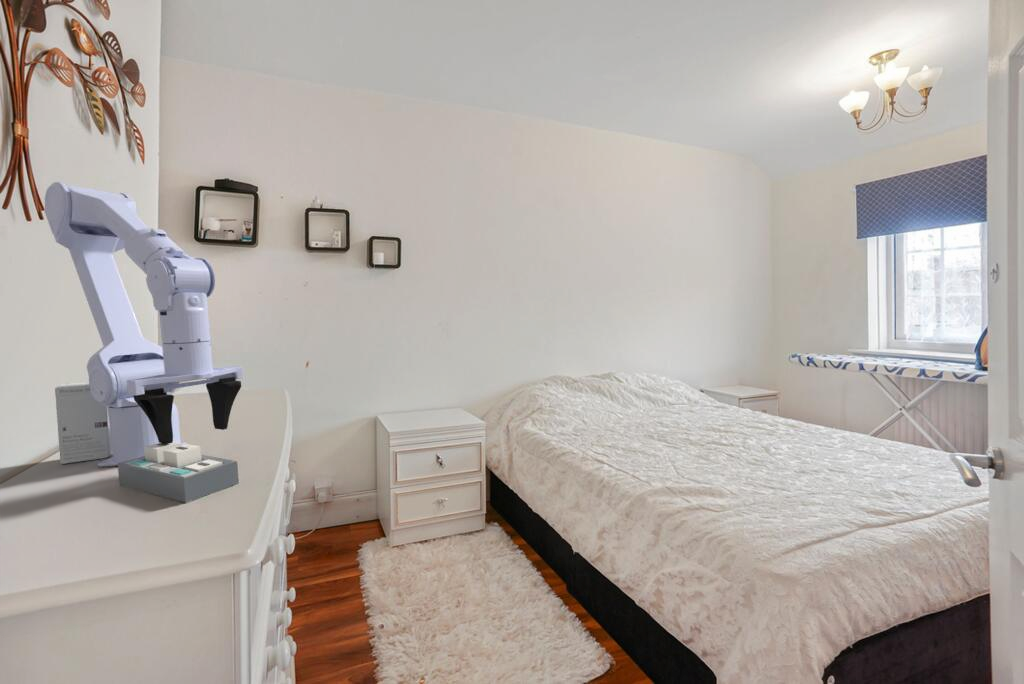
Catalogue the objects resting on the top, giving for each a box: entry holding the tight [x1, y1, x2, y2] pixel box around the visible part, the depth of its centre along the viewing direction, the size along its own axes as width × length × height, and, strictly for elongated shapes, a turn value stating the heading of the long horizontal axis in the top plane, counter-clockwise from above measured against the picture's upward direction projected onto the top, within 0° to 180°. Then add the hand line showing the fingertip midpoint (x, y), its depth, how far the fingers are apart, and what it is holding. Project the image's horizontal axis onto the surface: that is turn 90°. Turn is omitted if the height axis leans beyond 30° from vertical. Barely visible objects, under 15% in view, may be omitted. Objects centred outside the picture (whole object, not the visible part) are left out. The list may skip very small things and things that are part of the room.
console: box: [117, 454, 240, 504], centre depth 62 cm, size 15×7×3 cm, turn 64°
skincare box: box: [54, 381, 112, 465], centre depth 74 cm, size 6×4×12 cm
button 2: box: [185, 459, 223, 472], centre depth 60 cm, size 3×3×2 cm
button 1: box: [144, 442, 182, 463], centre depth 64 cm, size 3×3×2 cm
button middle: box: [163, 443, 202, 468], centre depth 62 cm, size 3×3×2 cm
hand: (194, 435), depth 67 cm, fingers open, 7 cm apart
